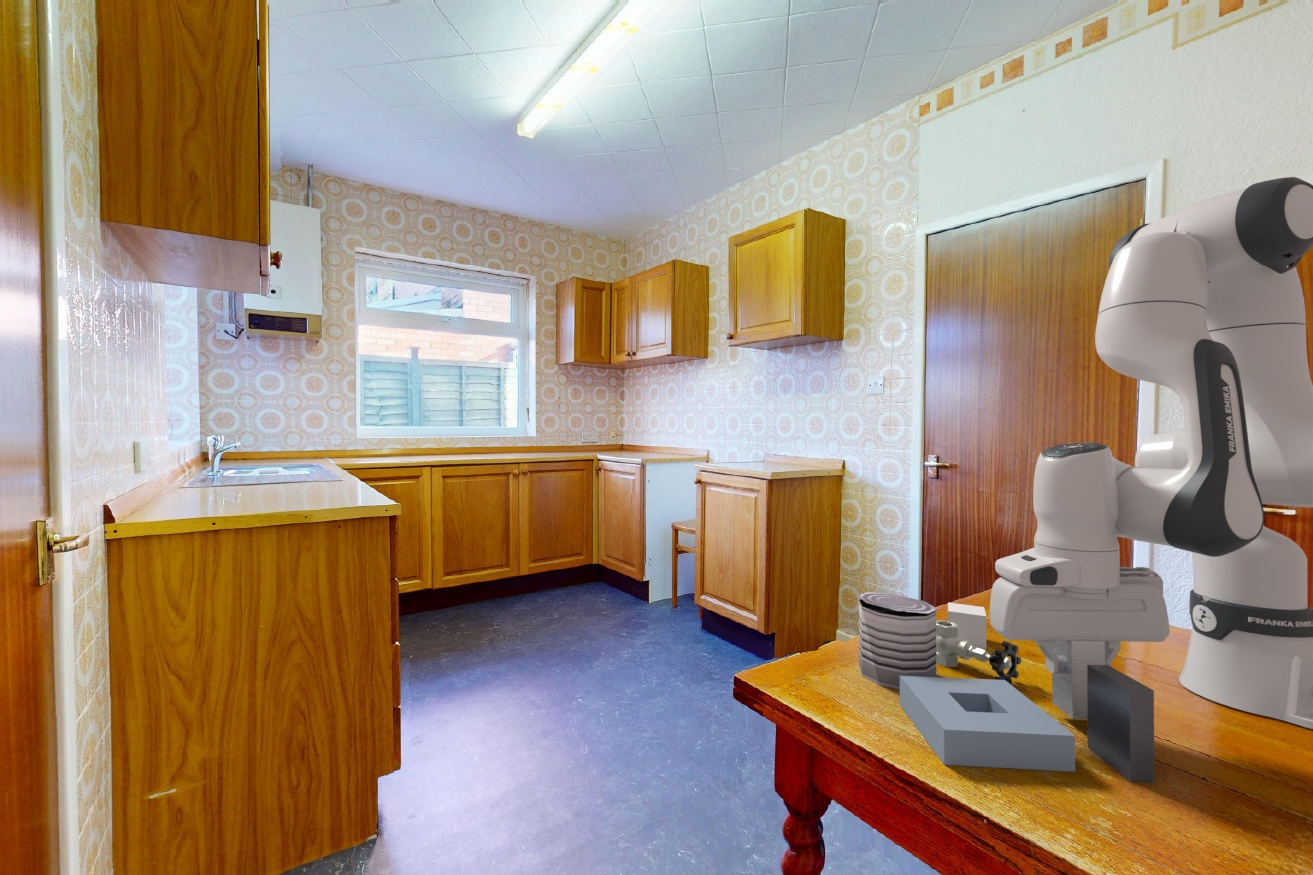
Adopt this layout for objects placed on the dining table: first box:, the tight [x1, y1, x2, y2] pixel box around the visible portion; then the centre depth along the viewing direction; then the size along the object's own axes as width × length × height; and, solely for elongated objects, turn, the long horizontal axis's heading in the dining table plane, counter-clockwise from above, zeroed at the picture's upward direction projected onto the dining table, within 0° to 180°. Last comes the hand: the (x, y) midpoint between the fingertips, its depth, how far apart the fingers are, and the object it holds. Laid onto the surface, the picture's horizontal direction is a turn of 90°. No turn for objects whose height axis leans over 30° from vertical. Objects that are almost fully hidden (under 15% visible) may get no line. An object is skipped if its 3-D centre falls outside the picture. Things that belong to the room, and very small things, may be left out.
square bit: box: [1051, 640, 1105, 720], centre depth 70 cm, size 4×4×10 cm
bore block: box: [899, 676, 1076, 773], centre depth 67 cm, size 14×14×4 cm
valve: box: [936, 619, 1022, 686], centre depth 86 cm, size 7×7×12 cm
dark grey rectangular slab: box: [1087, 665, 1155, 784], centre depth 61 cm, size 2×6×10 cm, turn 175°
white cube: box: [947, 602, 987, 650], centre depth 99 cm, size 6×6×6 cm
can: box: [856, 591, 939, 691], centre depth 85 cm, size 11×11×12 cm
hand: (1077, 672), depth 70 cm, fingers closed on square bit, 4 cm apart
